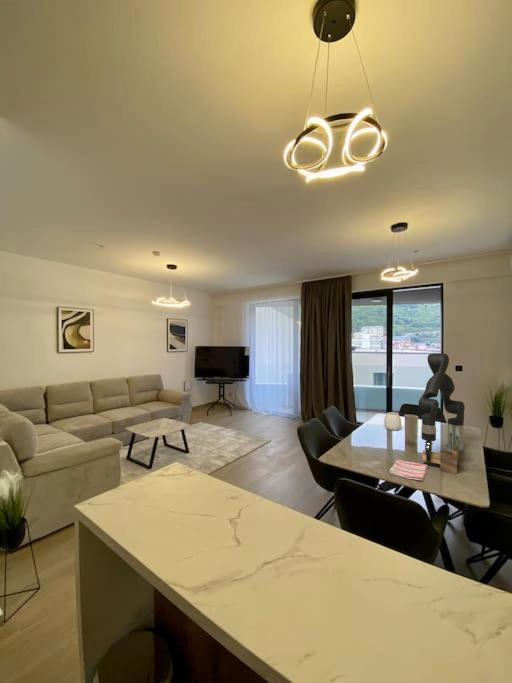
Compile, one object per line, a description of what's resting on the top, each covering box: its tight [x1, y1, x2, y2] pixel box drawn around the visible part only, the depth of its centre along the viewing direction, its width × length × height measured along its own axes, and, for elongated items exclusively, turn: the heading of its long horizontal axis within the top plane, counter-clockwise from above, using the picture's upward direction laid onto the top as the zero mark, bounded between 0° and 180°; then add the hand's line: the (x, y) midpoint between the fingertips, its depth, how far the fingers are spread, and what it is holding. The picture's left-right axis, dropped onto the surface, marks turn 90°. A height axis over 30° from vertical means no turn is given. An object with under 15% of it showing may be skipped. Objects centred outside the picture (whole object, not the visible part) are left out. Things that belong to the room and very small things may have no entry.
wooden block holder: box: [439, 446, 458, 475], centre depth 173 cm, size 11×8×14 cm
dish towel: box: [389, 458, 429, 482], centre depth 172 cm, size 17×23×4 cm
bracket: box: [445, 425, 460, 463], centre depth 187 cm, size 28×7×20 cm, turn 147°
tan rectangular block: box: [422, 449, 446, 465], centre depth 177 cm, size 4×12×6 cm, turn 57°
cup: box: [383, 411, 402, 431], centre depth 252 cm, size 13×13×14 cm
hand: (428, 459), depth 179 cm, fingers closed on tan rectangular block, 4 cm apart
